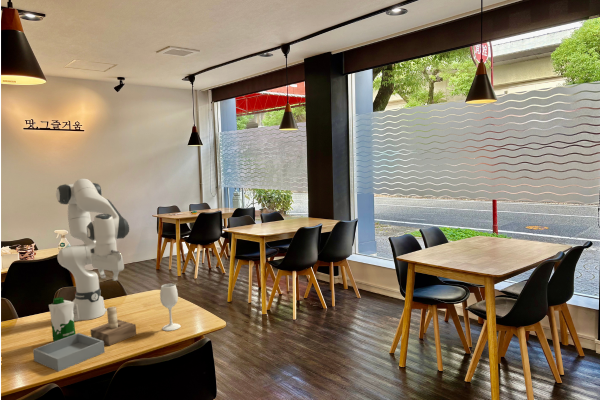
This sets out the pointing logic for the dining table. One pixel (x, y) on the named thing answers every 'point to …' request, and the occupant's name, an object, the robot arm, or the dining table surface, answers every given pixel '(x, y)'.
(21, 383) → the dining table surface
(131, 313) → the dining table surface
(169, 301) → the wineglass
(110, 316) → the dowel
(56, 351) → the tray
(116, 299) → the dining table surface
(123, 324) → the socket block
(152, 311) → the dining table surface
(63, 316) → the milk carton
